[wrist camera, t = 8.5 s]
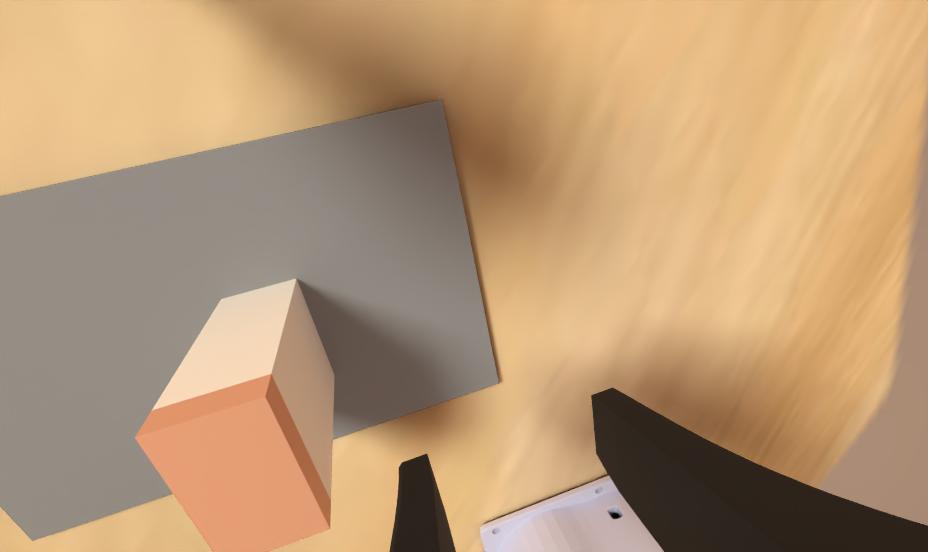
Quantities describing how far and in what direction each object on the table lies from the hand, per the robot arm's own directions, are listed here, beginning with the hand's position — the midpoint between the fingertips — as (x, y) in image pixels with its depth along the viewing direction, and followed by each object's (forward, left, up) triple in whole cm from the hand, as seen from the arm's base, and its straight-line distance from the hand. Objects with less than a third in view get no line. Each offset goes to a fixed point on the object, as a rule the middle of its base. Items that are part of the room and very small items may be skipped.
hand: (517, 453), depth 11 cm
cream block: (+7, 0, -10) cm, 12 cm away
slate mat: (+9, -1, -10) cm, 14 cm away
